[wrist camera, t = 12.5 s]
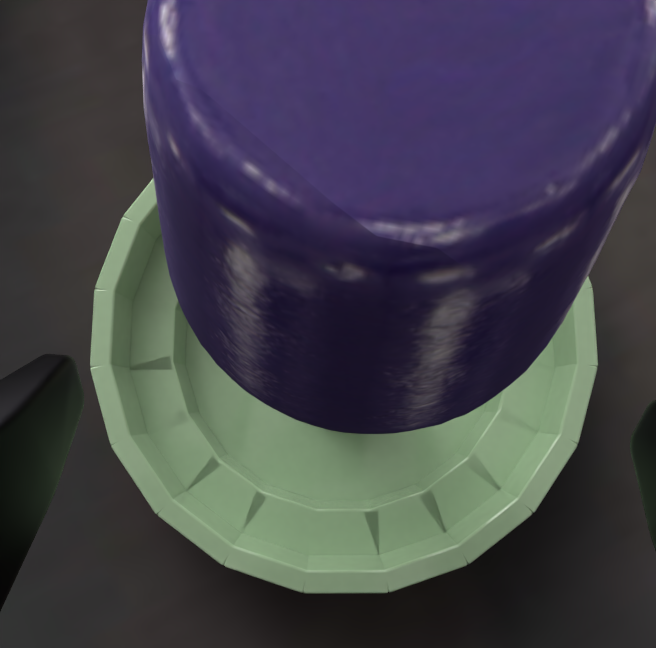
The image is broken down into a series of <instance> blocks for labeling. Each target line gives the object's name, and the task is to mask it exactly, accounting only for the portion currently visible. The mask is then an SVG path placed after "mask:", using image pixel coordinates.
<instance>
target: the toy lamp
mask: <svg viewBox="0 0 656 648" xmlns="http://www.w3.org/2000/svg"><path fill="white" fill-rule="evenodd" d="M142 74H143V97H144V113H145V121H146V128H147V136H148V144H149V150H150V156H151V162H152V169H153V177H154V185H155V192H156V199H157V206H158V213H159V220H160V226H161V232H162V238H163V245H164V251H165V256H166V261H167V266H168V270H169V275H170V278H171V281H172V284H173V287H174V290H175V293H176V296H177V299H178V302H179V304H180V307H181V309H182V311H183V313H184V315H185V317H186V319H187V321H188V323H189V325H190V327H191V328H192V330H193V332H194V333H195V335H196V337H197V338H198V340H199V342H200V344H201V345H202V346H203V348H204V349H205V350H206V351H207V352H208V354H209V355H210V356H211V358H212V359H213V360H214V361H215V363H216V364H217V365H218V366H219V367H220V368H221V369H222V370H223V371H224V372H225V373H226V374H227V375H228V376H229V377H230V378H231V379H232V380H233V381H235V382H236V383H237V384H238V385H239V386H240V387H241V388H242V389H244V390H245V391H246V392H248V393H249V394H250V395H252V396H253V397H255V398H257V399H258V400H260V401H261V402H263V403H264V404H266V405H268V406H269V407H271V408H273V409H275V410H277V411H279V412H281V413H283V414H285V415H287V416H289V417H291V418H293V419H295V420H298V421H301V422H304V423H307V424H310V425H313V426H316V427H320V428H323V429H327V430H331V431H337V432H343V433H354V434H393V433H400V432H407V431H413V430H417V429H422V428H426V427H431V426H436V425H440V424H443V423H445V422H447V421H450V420H452V419H454V418H457V417H460V416H464V415H466V414H468V413H469V412H471V411H473V410H475V409H477V408H478V407H480V406H482V405H483V404H485V403H486V402H488V401H489V400H491V399H492V398H493V397H495V396H496V395H497V394H499V393H500V392H501V391H503V390H504V389H505V388H507V387H508V386H509V385H511V384H512V383H513V382H514V381H515V380H516V379H518V378H519V377H520V376H521V375H522V374H523V373H525V372H526V371H527V369H528V368H529V367H530V366H531V365H532V363H533V362H534V361H535V360H536V359H537V357H538V356H539V355H540V354H541V353H542V351H543V350H544V349H545V348H546V346H547V345H548V343H549V342H550V340H551V339H552V337H553V336H554V334H555V333H556V331H557V330H558V328H559V327H560V325H561V324H562V322H563V321H564V319H565V317H566V315H567V313H568V311H569V310H570V308H571V306H572V304H573V302H574V300H575V298H576V296H577V294H578V293H579V291H580V289H581V287H582V285H583V283H584V281H585V280H586V278H587V276H588V274H589V273H590V271H591V269H592V267H593V266H594V264H595V262H596V260H597V258H598V255H599V253H600V251H601V249H602V247H603V245H604V243H605V241H606V238H607V236H608V234H609V232H610V230H611V228H612V226H613V224H614V222H615V220H616V218H617V216H618V214H619V212H620V210H621V208H622V206H623V204H624V202H625V200H626V198H627V196H628V194H629V192H630V190H631V189H632V187H633V185H634V183H635V181H636V179H637V177H638V175H639V173H640V171H641V169H642V166H643V163H644V160H645V157H646V154H647V151H648V148H649V145H650V142H651V138H652V135H653V131H654V128H655V124H656V0H148V3H147V9H146V14H145V20H144V25H143V46H142Z"/></svg>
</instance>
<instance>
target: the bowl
mask: <svg viewBox="0 0 656 648" xmlns="http://www.w3.org/2000/svg"><path fill="white" fill-rule="evenodd" d="M95 289H96V290H95V291H94V306H93V323H92V341H91V358H90V367H91V369H90V371H91V374H92V378H93V382H94V385H95V389H96V393H97V397H98V400H99V404H100V408H101V411H102V415H103V419H104V423H105V426H106V430H107V434H108V438H109V441H110V444H111V445H112V446H111V447H112V449H113V451H114V452H115V454H116V455H117V457H118V458H119V460H120V461H121V463H122V464H123V466H124V467H125V469H126V470H127V472H128V473H129V475H130V476H131V478H132V479H133V481H134V482H135V484H136V485H137V487H138V488H139V490H140V491H141V493H142V494H143V496H144V497H145V499H146V500H147V502H148V503H149V505H150V506H151V508H152V509H153V511H154V512H155V514H158V516H159V517H160V518H161V519H162V520H164V521H165V522H166V523H168V524H169V525H170V526H172V527H173V528H174V529H175V530H177V531H178V532H179V533H181V534H182V535H183V536H184V537H186V538H187V539H188V540H190V541H191V542H192V543H194V544H195V545H196V546H197V547H199V548H200V549H201V550H203V551H204V552H205V553H207V554H208V555H209V556H210V557H212V558H213V559H214V560H216V561H217V562H218V563H219V564H221V565H224V566H225V567H227V568H230V569H232V570H235V571H238V572H241V573H244V574H247V575H250V576H253V577H256V578H259V579H262V580H265V581H268V582H271V583H274V584H277V585H280V586H283V587H286V588H288V589H291V590H294V591H297V592H300V593H303V592H304V593H306V594H343V593H388V592H393V591H396V590H399V589H402V588H405V587H408V586H411V585H413V584H416V583H419V582H422V581H425V580H428V579H431V578H433V577H436V576H439V575H442V574H445V573H448V572H451V571H453V570H456V569H459V568H462V567H465V566H466V565H467V564H470V563H472V562H473V561H474V560H476V559H477V558H478V557H479V556H481V555H482V554H483V553H484V552H486V551H487V550H488V549H489V548H491V547H492V546H493V545H495V544H496V543H497V542H498V541H500V540H501V539H502V538H503V537H505V536H506V535H507V534H508V533H510V532H511V531H512V530H514V529H515V528H516V527H517V526H519V525H520V524H521V523H522V522H524V521H525V520H526V519H527V518H529V517H530V516H531V515H532V512H533V513H534V512H535V511H536V509H537V508H538V506H539V505H540V503H541V502H542V500H543V499H544V497H545V496H546V494H547V492H548V491H549V489H550V488H551V486H552V485H553V483H554V482H555V480H556V478H557V477H558V475H559V474H560V472H561V471H562V469H563V468H564V466H565V465H566V463H567V461H568V460H569V458H570V457H571V455H572V454H573V452H574V451H575V449H576V447H577V444H578V443H579V439H580V435H581V431H582V427H583V423H584V420H585V416H586V412H587V408H588V404H589V400H590V396H591V392H592V388H593V384H594V380H595V376H596V372H597V366H598V357H597V342H596V328H595V314H594V300H593V289H592V285H591V282H590V280H589V277H588V276H587V278H586V280H585V281H584V283H583V285H582V287H581V289H580V291H579V293H578V294H577V296H576V298H575V300H574V302H573V304H572V306H571V308H570V310H569V311H568V313H567V315H566V317H565V319H564V321H563V322H562V324H561V325H560V327H559V328H558V330H557V331H556V333H555V334H554V336H553V337H552V339H551V340H550V342H549V343H548V345H547V346H546V348H545V349H544V350H543V351H542V353H541V354H540V355H539V356H538V357H537V359H536V360H535V361H534V362H533V363H532V365H531V366H530V367H529V368H528V369H527V371H526V372H525V373H523V374H522V375H521V376H520V377H519V378H518V379H516V380H515V381H514V382H513V383H512V384H511V385H509V386H508V387H507V388H505V389H504V390H503V391H501V392H500V393H499V394H497V395H496V396H495V397H493V398H492V399H491V400H489V401H488V402H486V403H485V404H483V405H482V406H480V407H478V408H477V409H475V410H473V411H471V412H469V413H468V414H466V415H464V416H460V417H457V418H454V419H452V420H450V421H447V422H445V423H443V424H440V425H436V426H431V427H426V428H422V429H417V430H413V431H407V432H400V433H393V434H354V433H343V432H337V431H331V430H327V429H323V428H320V427H316V426H313V425H310V424H307V423H304V422H301V421H298V420H295V419H293V418H291V417H289V416H287V415H285V414H283V413H281V412H279V411H277V410H275V409H273V408H271V407H269V406H268V405H266V404H264V403H263V402H261V401H260V400H258V399H257V398H255V397H253V396H252V395H250V394H249V393H248V392H246V391H245V390H244V389H242V388H241V387H240V386H239V385H238V384H237V383H236V382H235V381H233V380H232V379H231V378H230V377H229V376H228V375H227V374H226V373H225V372H224V371H223V370H222V369H221V368H220V367H219V366H218V365H217V364H216V363H215V361H214V360H213V359H212V358H211V356H210V355H209V354H208V352H207V351H206V350H205V349H204V348H203V346H202V345H201V344H200V342H199V340H198V338H197V337H196V335H195V333H194V332H193V330H192V328H191V327H190V325H189V323H188V321H187V319H186V317H185V315H184V313H183V311H182V309H181V307H180V304H179V302H178V299H177V296H176V293H175V290H174V287H173V284H172V281H171V278H170V275H169V270H168V266H167V261H166V256H165V251H164V245H163V238H162V232H161V226H160V220H159V213H158V206H157V199H156V192H155V185H154V178H153V179H152V181H151V182H150V183H149V184H148V185H147V187H146V188H145V189H144V190H143V192H142V193H141V194H140V195H139V197H138V198H137V199H136V200H135V202H134V203H133V204H132V205H131V207H130V208H129V209H128V210H127V212H126V213H125V214H124V217H123V218H122V219H121V222H120V224H119V227H118V229H117V232H116V234H115V237H114V240H113V242H112V245H111V247H110V250H109V252H108V255H107V258H106V260H105V263H104V265H103V268H102V270H101V273H100V276H99V278H98V281H97V283H96V286H95Z"/></svg>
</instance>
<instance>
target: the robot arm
mask: <svg viewBox="0 0 656 648" xmlns="http://www.w3.org/2000/svg"><path fill="white" fill-rule="evenodd" d="M83 405H84V393H83V389H82V385H81V382H80V378H79V374H78V370H77V367H76V363H75V361H74V359H73V358H72V357H70V356H67V355H55V354H45V355H42V356H40V357H38V358H37V359H35V360H33V361H32V362H30V363H28V364H27V365H25V366H23V367H22V368H20V369H18V370H17V371H15V372H13V373H12V374H10V375H8V376H7V377H5V378H3V379H2V380H0V611H1V609H2V607H3V604H4V602H5V600H6V598H7V596H8V594H9V591H10V589H11V587H12V585H13V583H14V581H15V579H16V576H17V574H18V572H19V570H20V568H21V566H22V563H23V561H24V559H25V557H26V555H27V553H28V550H29V548H30V546H31V544H32V542H33V540H34V538H35V535H36V533H37V531H38V529H39V527H40V525H41V522H42V520H43V518H44V516H45V514H46V512H47V510H48V507H49V505H50V503H51V500H52V498H53V496H54V493H55V490H56V488H57V485H58V482H59V479H60V476H61V473H62V470H63V467H64V464H65V461H66V458H67V455H68V452H69V449H70V446H71V443H72V440H73V437H74V434H75V431H76V428H77V425H78V422H79V419H80V416H81V413H82V410H83ZM630 450H631V455H632V459H633V463H634V468H635V472H636V476H637V480H638V485H639V489H640V493H641V498H642V502H643V506H644V510H645V515H646V519H647V523H648V527H649V531H650V535H651V538H652V542H653V545H654V548H655V551H656V400H655V401H652V402H651V403H650V404H649V405H648V406H647V408H646V410H645V412H644V414H643V415H642V417H641V419H640V421H639V423H638V425H637V427H636V428H635V430H634V432H633V434H632V437H631V441H630Z"/></svg>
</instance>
